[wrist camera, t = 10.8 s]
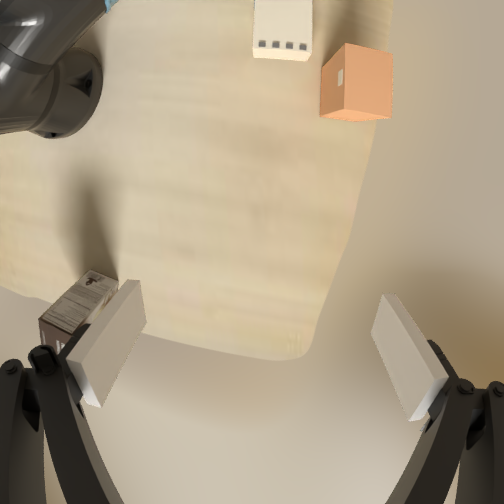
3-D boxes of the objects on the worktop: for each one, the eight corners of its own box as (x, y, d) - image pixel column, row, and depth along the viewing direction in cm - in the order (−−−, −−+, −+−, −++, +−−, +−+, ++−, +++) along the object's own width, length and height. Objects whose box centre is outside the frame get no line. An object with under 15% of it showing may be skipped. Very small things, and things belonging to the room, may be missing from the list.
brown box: (319, 116, 35) (343, 108, 24) (321, 68, 32) (344, 42, 21) (355, 121, 35) (392, 117, 24) (357, 74, 32) (392, 54, 21)
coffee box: (115, 320, 49) (76, 379, 34) (87, 307, 48) (43, 361, 34) (119, 280, 46) (72, 337, 31) (88, 267, 45) (36, 317, 30)
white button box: (252, 57, 32) (251, 47, 28) (256, -12, 27) (255, -27, 23) (307, 61, 32) (313, 52, 27) (308, -8, 27) (312, -23, 23)
